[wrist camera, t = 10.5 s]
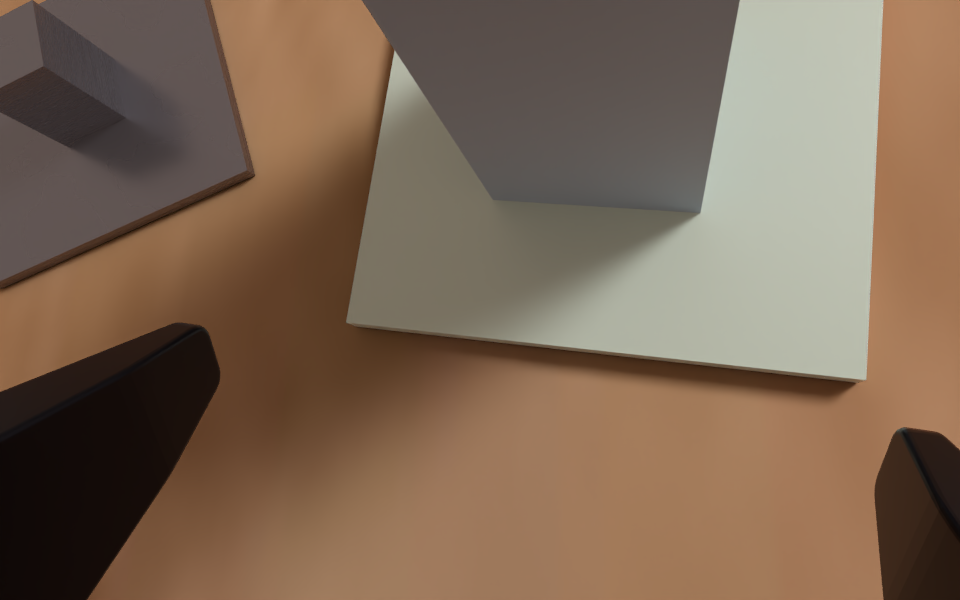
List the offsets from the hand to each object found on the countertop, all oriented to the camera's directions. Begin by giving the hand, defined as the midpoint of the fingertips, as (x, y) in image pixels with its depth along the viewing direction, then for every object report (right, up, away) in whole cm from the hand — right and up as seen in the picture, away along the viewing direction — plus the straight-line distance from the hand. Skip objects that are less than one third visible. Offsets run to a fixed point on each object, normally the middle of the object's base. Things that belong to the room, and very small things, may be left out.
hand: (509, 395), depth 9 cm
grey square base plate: (-12, +7, +13) cm, 19 cm away
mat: (+3, +6, +9) cm, 11 cm away
